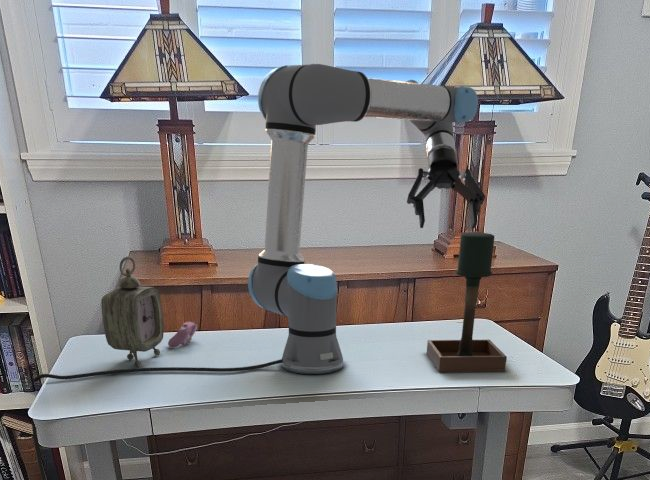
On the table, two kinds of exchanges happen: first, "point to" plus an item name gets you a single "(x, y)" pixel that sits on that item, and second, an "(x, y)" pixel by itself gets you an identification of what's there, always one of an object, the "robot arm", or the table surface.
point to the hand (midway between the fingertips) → (448, 224)
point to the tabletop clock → (132, 316)
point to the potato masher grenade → (473, 279)
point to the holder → (481, 360)
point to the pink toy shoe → (183, 335)
